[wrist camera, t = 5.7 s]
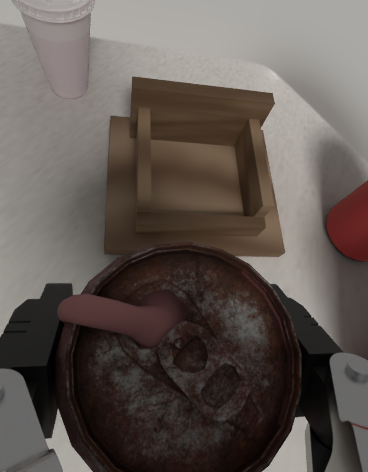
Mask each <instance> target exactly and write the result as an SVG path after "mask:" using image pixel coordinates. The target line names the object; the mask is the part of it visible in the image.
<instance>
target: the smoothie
mask: <svg viewBox="0 0 368 472" xmlns="http://www.w3.org/2000/svg"><path fill="white" fill-rule="evenodd" d="M12 2H13V3H14V5H15V6H16V7H17V8H18V9H19V10H20V12H21V14H22V17H23V19H24V22H25V25H26V27H27V29H28V32H29V34H30V37H31V39H32V42H33V44H34V47H35V49H36V52H37V54H38V57H39V59H40V62H41V64H42V67H43V69H44V72H45V74H46V77H47V79H48V82H49V84H50V87H51V89H52V91H53V92H54V93H55V94H57V95H58V96H60V97H63V98H77V97H80V96H82V95H83V94H84V93H85V92H86V90H87V84H88V61H89V38H90V16H91V11H92V9H93V8H94V3H95V0H12Z"/></svg>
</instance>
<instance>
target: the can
mask: <svg viewBox="0 0 368 472" xmlns="http://www.w3.org/2000/svg"><path fill="white" fill-rule="evenodd" d="M57 315H58V318H59V319H60V320H61V321H62V322H63V323H64V327H63V331H62V334H61V337H60V341H59V344H58V348H57V351H56V355H55V379H56V403H57V406H58V409H59V411H60V414H61V417H62V420H63V423H64V426H65V428H66V431H67V434H68V437H69V440H70V443H71V445H72V447H73V448H74V449H75V450H76V452H77V453H78V454H79V455H80V456H81V458H82V459H83V460H84V461H85V463H86V464H87V465H88V466H89V467H90V469H91V470H92V471H93V472H262V471H263V470H264V469H265V468H267V467H268V466H269V465H270V463H271V462H272V460H273V458H274V457H275V455H276V454H277V452H278V451H279V449H280V448H281V446H282V444H283V443H284V441H285V440H286V438H287V437H288V435H289V434H290V432H291V430H292V426H293V422H294V419H295V415H296V412H297V408H298V404H299V401H300V397H301V393H302V362H301V350H300V347H299V343H298V339H297V336H296V332H295V329H294V325H293V322H292V318H291V316H290V315H289V313H288V311H287V310H286V308H285V306H284V305H283V303H282V301H281V300H280V298H279V296H278V294H277V293H276V291H275V289H274V288H273V287H272V286H271V285H270V284H269V283H268V282H267V281H266V280H265V279H264V278H263V277H262V276H261V275H260V274H259V273H258V272H257V271H256V270H255V269H254V268H253V267H252V266H251V265H250V264H248V263H246V262H244V261H242V260H241V259H239V258H237V257H235V256H233V255H231V254H230V253H228V252H226V251H224V250H222V249H220V248H215V247H210V246H205V245H201V244H196V243H191V242H178V243H167V244H155V245H148V246H146V247H144V248H141V249H139V250H136V251H134V252H131V253H129V254H126V255H124V256H122V257H119V258H117V259H116V260H115V261H113V262H112V263H111V264H110V265H109V266H107V267H106V268H105V269H104V270H103V271H101V272H100V273H99V274H98V275H96V276H95V277H94V278H93V279H92V280H90V281H89V282H88V284H87V285H86V287H85V289H84V290H83V292H82V293H81V294H80V295H72V296H70V297H69V298H67V299H65V300H63V301H62V302H61V303H60V304H59V307H58V310H57Z"/></svg>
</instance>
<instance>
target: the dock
mask: <svg viewBox="0 0 368 472" xmlns="http://www.w3.org/2000/svg"><path fill="white" fill-rule="evenodd" d="M274 104H275V102H274V98H273V93H266V92H258V91H250V90H241V89H233V88H224V87H216V86H208V85H199V84H191V83H182V82H174V81H166V80H157V79H149V78H140V77H132V97H131V118H129V117H118V116H111V120H110V140H109V161H108V181H107V201H106V222H105V242H104V252H105V254H120V255H126V254H129V253H131V252H134V251H136V250H139V249H141V248H144V247H146V246H148V245H155V244H167V243H178V242H191V243H196V244H201V245H205V246H210V247H215V248H220V249H222V250H224V251H226V252H228V253H230V254H231V255H233V256H262V257H279V256H281V255H282V254H284V253H285V249H284V244H283V238H282V233H281V227H280V222H279V216H278V211H277V205H276V200H275V194H274V189H273V183H272V178H271V172H270V167H269V162H268V156H267V151H266V145H265V140H264V134H263V130H261V126H262V125H263V123H264V121H265V120H266V118H267V116H268V114H269V113H270V111H271V109H272V107H273V106H274Z"/></svg>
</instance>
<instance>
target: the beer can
mask: <svg viewBox="0 0 368 472" xmlns="http://www.w3.org/2000/svg"><path fill="white" fill-rule="evenodd" d="M326 226H327V231H328V235H329V237H330V239H331V241H332V242H333V244H334V245H335V246H336V247H337V248H338V250H339V251H340V252H342V253H343V254H345V255H346V256H348V257H349V258H352V259H355V260H358V261H368V181H366V182H365V183H364V184H362V185H361V186H360V187H359V188H357V189H356V190H355V191H353V192H352V193H351V194H349V195H348V196H347V197H346V198H344V199H343V200H342V201H340V202H339V203H338V204H337V205H335V206H334V207H333V208H331V210H330V212H329V214H328V216H327V224H326Z"/></svg>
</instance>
